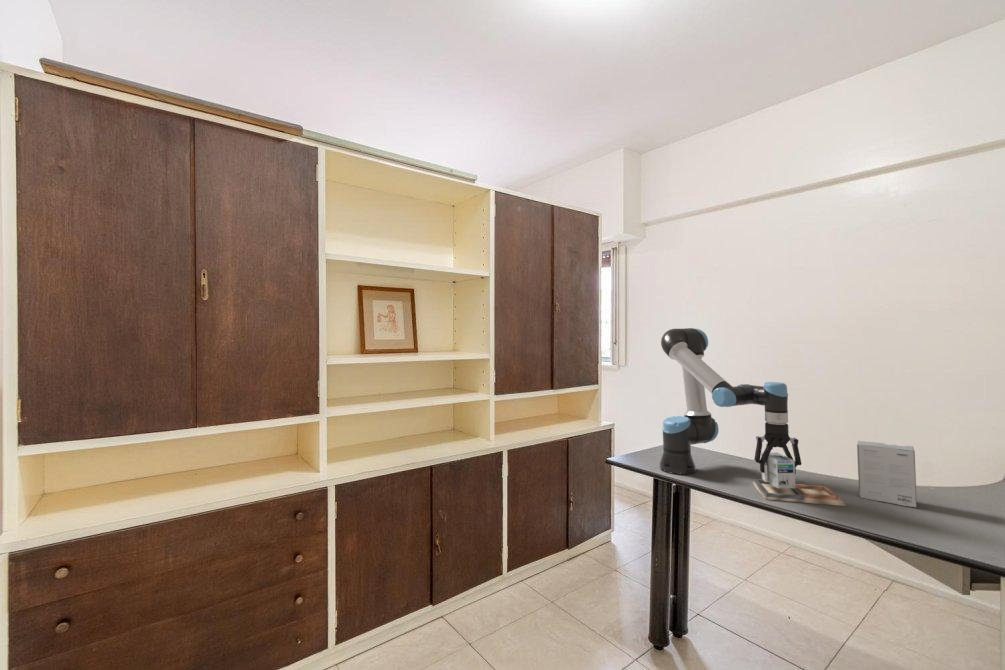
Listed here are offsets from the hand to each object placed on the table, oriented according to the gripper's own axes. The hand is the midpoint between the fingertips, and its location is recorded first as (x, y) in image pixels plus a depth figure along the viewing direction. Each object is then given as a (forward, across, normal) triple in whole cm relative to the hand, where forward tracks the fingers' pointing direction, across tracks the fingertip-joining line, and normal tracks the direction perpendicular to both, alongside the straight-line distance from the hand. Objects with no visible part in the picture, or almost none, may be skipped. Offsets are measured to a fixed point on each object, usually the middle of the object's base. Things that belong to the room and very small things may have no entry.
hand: (777, 481), depth 161 cm
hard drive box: (+5, +35, +2) cm, 35 cm away
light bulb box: (+1, 0, 0) cm, 1 cm away
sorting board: (+4, +6, 0) cm, 7 cm away
